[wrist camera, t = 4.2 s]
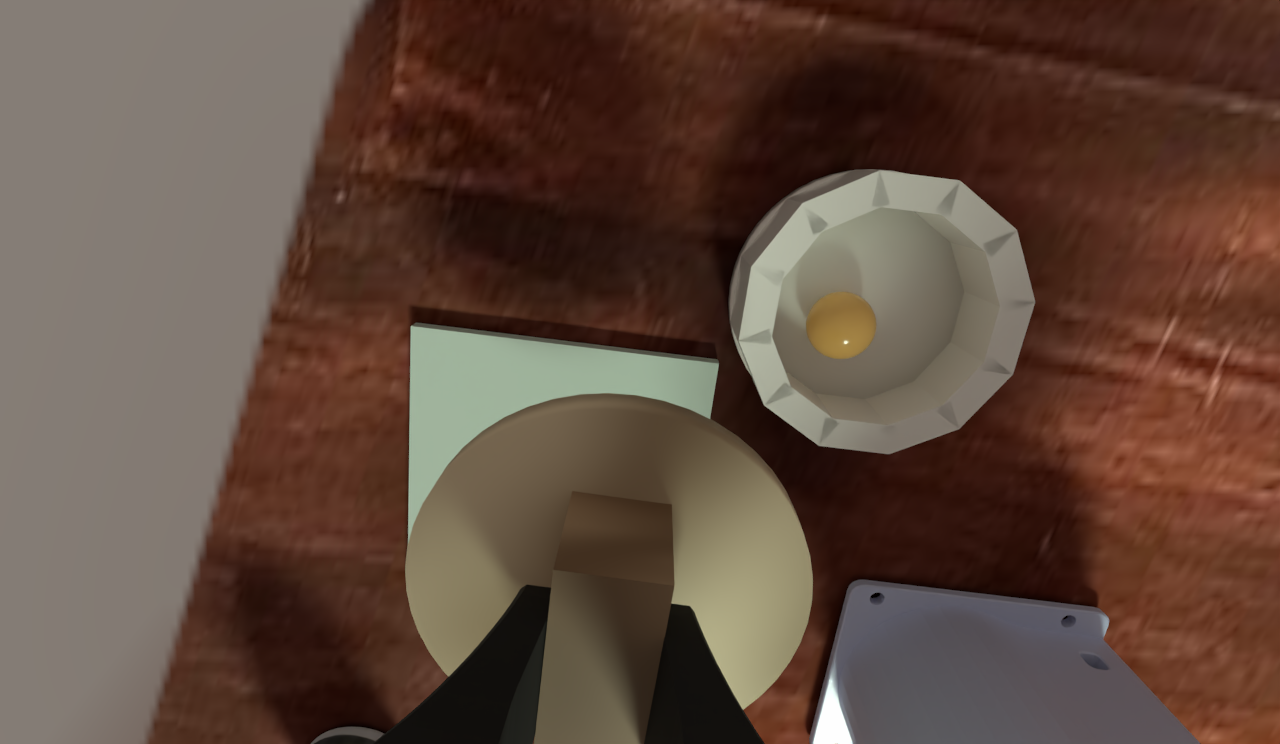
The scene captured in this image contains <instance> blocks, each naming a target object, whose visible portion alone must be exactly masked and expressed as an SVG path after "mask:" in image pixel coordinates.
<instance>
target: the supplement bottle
mask: <svg viewBox="0 0 1280 744" xmlns="http://www.w3.org/2000/svg"><path fill="white" fill-rule="evenodd" d="M382 735H384V733H382V732H380V731H377V730H374V729H370V728H365V727H340V728H336V729H332V730H329V731H327V732H325V733H323V734H321V735H320V736H318V737H317V738H316V739H315V740H314V741H313V742H312V743H311V744H372V743H374V742H375V741H376V740H377V739H379V738H380V737H381V736H382Z"/></svg>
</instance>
